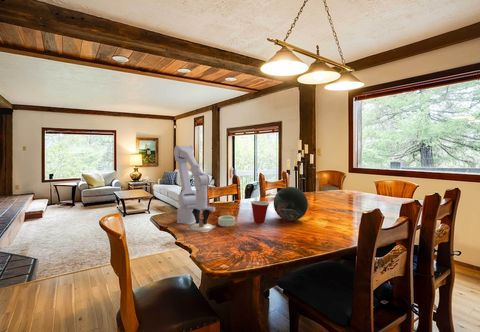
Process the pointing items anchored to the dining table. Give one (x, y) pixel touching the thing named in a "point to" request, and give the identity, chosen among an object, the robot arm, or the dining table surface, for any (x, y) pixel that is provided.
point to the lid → (201, 226)
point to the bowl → (226, 221)
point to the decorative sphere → (290, 203)
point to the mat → (202, 231)
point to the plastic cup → (259, 211)
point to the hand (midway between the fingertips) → (201, 223)
